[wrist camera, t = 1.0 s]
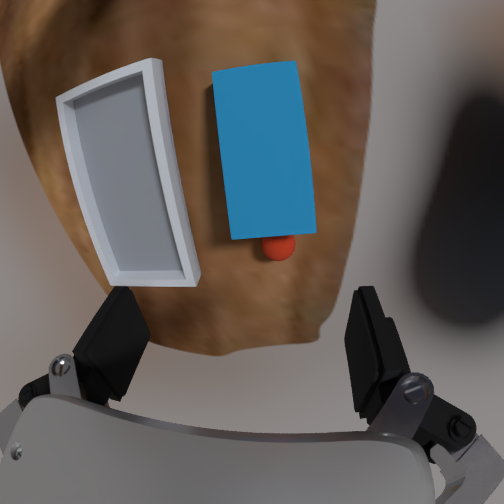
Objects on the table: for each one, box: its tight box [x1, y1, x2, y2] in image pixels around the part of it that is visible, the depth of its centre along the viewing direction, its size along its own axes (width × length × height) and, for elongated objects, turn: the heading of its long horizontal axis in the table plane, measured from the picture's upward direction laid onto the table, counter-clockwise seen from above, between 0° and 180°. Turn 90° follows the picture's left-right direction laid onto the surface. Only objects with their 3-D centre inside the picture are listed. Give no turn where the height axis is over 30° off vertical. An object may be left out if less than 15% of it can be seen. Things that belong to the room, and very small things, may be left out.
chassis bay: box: [56, 58, 201, 287], centre depth 26 cm, size 24×12×2 cm, turn 6°
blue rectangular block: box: [212, 61, 316, 261], centre depth 24 cm, size 7×7×18 cm
